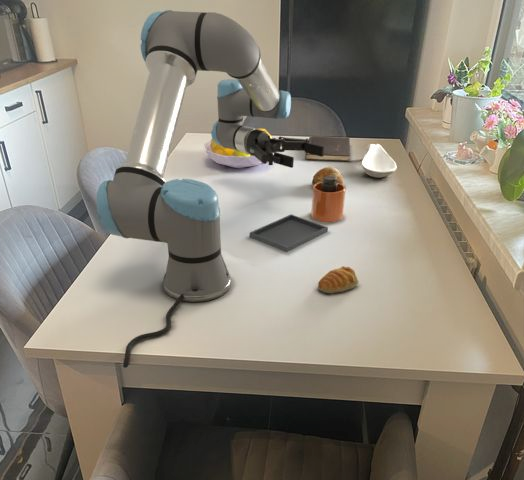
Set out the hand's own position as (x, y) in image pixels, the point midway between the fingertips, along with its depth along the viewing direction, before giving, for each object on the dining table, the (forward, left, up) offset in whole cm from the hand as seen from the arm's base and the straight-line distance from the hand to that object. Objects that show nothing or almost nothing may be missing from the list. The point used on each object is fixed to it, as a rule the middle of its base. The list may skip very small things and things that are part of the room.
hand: (308, 157), depth 152 cm
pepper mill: (0, -8, -15) cm, 17 cm away
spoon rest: (+45, +5, -16) cm, 48 cm away
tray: (-17, -8, -16) cm, 24 cm away
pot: (0, -8, -16) cm, 18 cm away
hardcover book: (+51, +30, -16) cm, 61 cm away
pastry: (-30, -34, -16) cm, 48 cm away
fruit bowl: (+20, +46, -16) cm, 53 cm away
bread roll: (+20, +7, -16) cm, 26 cm away
